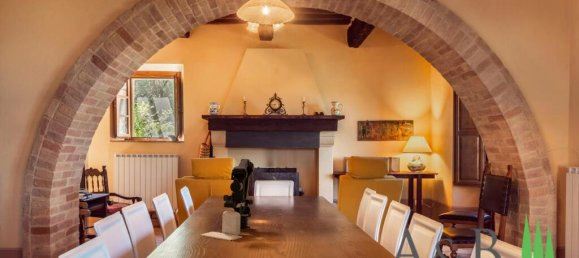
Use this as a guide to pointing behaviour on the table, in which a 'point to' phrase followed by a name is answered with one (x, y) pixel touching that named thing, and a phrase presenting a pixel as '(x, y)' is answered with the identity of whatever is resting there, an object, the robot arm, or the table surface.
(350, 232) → the table surface
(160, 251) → the table surface
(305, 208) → the table surface
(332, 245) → the table surface
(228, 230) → the photo printer
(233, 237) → the beige flat sheet
